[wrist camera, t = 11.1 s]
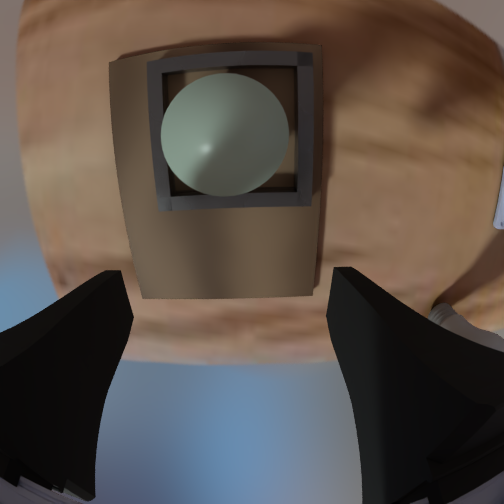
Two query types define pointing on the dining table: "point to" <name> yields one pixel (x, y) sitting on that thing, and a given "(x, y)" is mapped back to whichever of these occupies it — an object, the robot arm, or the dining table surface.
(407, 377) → the robot arm
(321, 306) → the dining table surface
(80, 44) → the dining table surface
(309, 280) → the board
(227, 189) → the pale green pear shape
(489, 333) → the lightbulb
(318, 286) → the dining table surface
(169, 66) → the dark grey square frame
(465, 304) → the dining table surface
